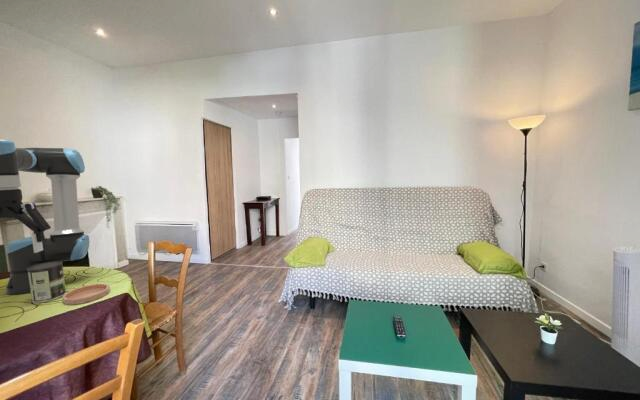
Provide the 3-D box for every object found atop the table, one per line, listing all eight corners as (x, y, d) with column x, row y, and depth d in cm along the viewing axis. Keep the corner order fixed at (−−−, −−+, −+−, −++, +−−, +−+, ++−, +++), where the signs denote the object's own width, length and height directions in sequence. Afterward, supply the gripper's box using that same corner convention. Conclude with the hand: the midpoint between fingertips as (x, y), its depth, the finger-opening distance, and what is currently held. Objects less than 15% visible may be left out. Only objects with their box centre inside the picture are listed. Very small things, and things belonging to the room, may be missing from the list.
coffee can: (64, 289, 116) (61, 259, 114) (67, 296, 109) (64, 264, 108) (30, 297, 108) (26, 265, 106) (31, 305, 102) (27, 272, 100)
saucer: (70, 292, 112) (70, 288, 112) (112, 285, 119) (112, 281, 119) (57, 308, 100) (56, 303, 99) (105, 299, 107) (104, 294, 106)
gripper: (-65, 190, 74) (-52, 260, 77) (42, 189, 81) (51, 253, 83) (-37, 188, 81) (-26, 252, 84) (59, 187, 88) (67, 246, 91)
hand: (12, 253), depth 84 cm, fingers open, 13 cm apart
